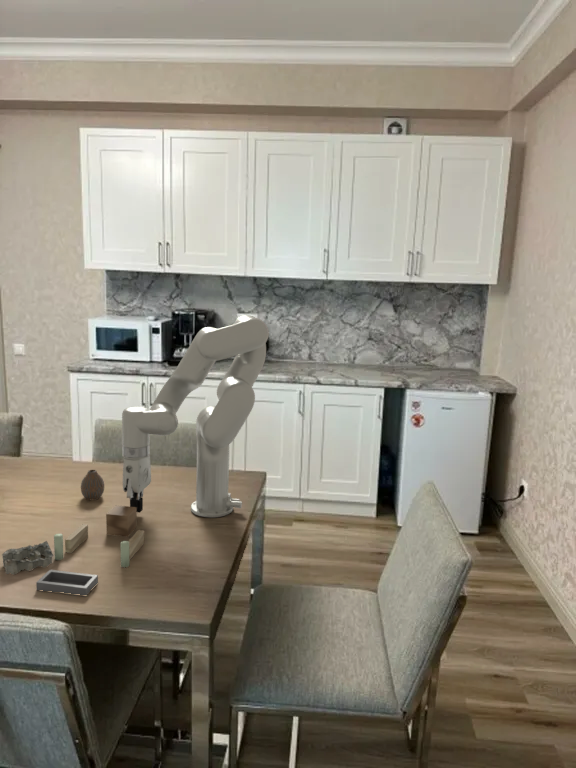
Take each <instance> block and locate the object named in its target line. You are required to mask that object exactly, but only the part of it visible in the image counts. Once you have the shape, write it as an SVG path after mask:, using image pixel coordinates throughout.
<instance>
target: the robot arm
mask: <svg viewBox="0 0 576 768" xmlns="http://www.w3.org/2000/svg"><path fill="white" fill-rule="evenodd" d="M269 332H270V331H269V328H268V325H267V324H266V323H265V322H264V321H263V320H261V319H260V318H258V317H255V316H253V315H250V314H249V315H248V314H244V315H241V316H239V317H237V318H236V320H235V321H234V323H233V324H231V325H228V326H227V325H226V326H224V327H220V328H215V327H213V326H207V327H206V326H205V327H202V328H201V329H199V331H198V332H197V333H196V335H195V336H194V338H193V340H192V342H191V343H190V345H189V346H188V348H187V350H186V352H185V353H184V354H183V357H182V358H181V360H180V362H179V363H178V365H177V367H176V368H175V369H174V371H173V372H172V374H171V375H170V377H169V378H168V379H167V380H166V382H165V384H164V385H163V386H162V387H161V390H160V391H159V392H158V393H157V394H158V395H157V396H156V398H155V400H154V402H153V403H152V404H151V407H150V409H148V408H147V407H143V406H131V407H130V406H129V407H126V408H125V409H123V411H122V413H121V431H122V433H121V438H122V439H121V440H122V442H121V443H122V445H121V447H122V449H121V451H122V453H121V454H122V457H123V464H122V465H123V467H122V490H123V491H124V492H125V493H126V499H129V507H137V514H138V513H141V512H142V511H143V507H144V504H143V503H144V501H143V500H144V498H143V497H144V490H145V489H146V488H147V487H148V486H149V485H150V484H151V482H152V472H151V471H152V470H151V469H152V468H151V457H150V455H151V454H150V451H151V450H150V449H151V447H150V445H151V444H150V443H151V442H150V436H151V435H152V436H155V435H156V436H164V437H165V436H169V435H171V434H173V433H175V432H176V430H177V429H178V427H179V426H178V425H179V420H178V416H177V412H178V411H179V409H180V407H181V406H182V404H183V403H184V401H185V400H186V399H187V397H188V396H189V395H190V394H191V393H192V392H193V391H195V390H197V389H198V388H199V387H201V386H202V385H203V383H204V381H206V379H207V377H208V375H209V373H210V371H211V370H212V368H213V366H214V365H215V363H216V362H217V361H222V360H226V359H229V358H233V357H234V359H233V361H232V363H230V366H229V368H228V369H227V371H226V373H225V374H224V376H223V378H222V379H221V381H220V382H219V384H218V386H217V389H216V396H217V399H218V401H217V403H216V405H209V406H206V407H205V408H203V409H202V410H201V411H200V412H199V413H198V415H197V417H196V421H195V422H196V423H195V434H196V487H195V488H196V489H195V490H196V491H195V493H196V494H195V496H196V497H195V498H196V499H195V501H193V502H192V503H191V505H190V511H191V512H192V513H193V514H194V515H196V516H199V517H203V518H220V517H224V516H228V515H229V514H230V513H232V512H233V510H234V508H236V509H237V508H238V509H242V507H243V501H241V499H240V498H233V497H231V494H232V493H231V492H229V481H230V480H229V477H230V476H229V475H230V474H229V473H230V471H229V470H230V444H231V443H232V442H233V441H234V440H235V439H236V437H237V436H238V434H239V433H240V431H241V429H242V427H243V426H244V424H245V423H246V421H247V419H248V417H249V415H250V414H251V412H252V411H253V408H254V405H255V402H256V394H255V391H254V389H253V387H254V384H255V382H256V381H257V379H258V378H259V375H260V373H261V371H262V369H263V367H264V364H265V361H266V355H267V344H266V343H267V341H268V339H269V336H270V335H269Z"/></svg>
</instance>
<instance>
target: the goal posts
mask: <svg viewBox="0 0 576 768" xmlns="http://www.w3.org/2000/svg"><path fill="white" fill-rule="evenodd" d="M63 537H64V536H63V533H55V534H53V549H54V551H53V552H54V560H56V561H61V560H63V559H64V538H63ZM128 566H129V567H130V560H129V540H121V542H120V567H121V568H122V567H124V568H123V569H125V567H127V568H128Z"/></svg>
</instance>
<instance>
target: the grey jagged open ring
mask: <svg viewBox="0 0 576 768" xmlns="http://www.w3.org/2000/svg"><path fill="white" fill-rule="evenodd" d="M41 555H42V556H44V558H42V556H41ZM1 556H2V565H3V566H2V567H3V568H5V574H9V573H11V574H9V575H12V574H13V575H17V573H19V572H21V570H22V571H28V572H30V571H33V570H34V569H36V568H38V567H37V566H39V567H41V566H42V567H41V568H47V566H48V567H49V565H50V564H53V557H54V554H53V551H52V549H51V547H50V544H49V543H48V541H47V540H46V541H44V542H42V543H39V544H34V545H30V544H29V545H28V546H23V547H20V548H9V549H7V550H6V551H4V552H3V553H2V554H1ZM24 558H25V559H24ZM28 558H29V559H28ZM33 568H34V569H33ZM24 569H26V570H24ZM32 569H33V570H32ZM29 570H30V571H29Z"/></svg>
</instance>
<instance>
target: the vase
mask: <svg viewBox="0 0 576 768" xmlns="http://www.w3.org/2000/svg"><path fill="white" fill-rule="evenodd" d="M80 492H81V494H82V496H83V497H84V499H86V500H88V501H95V500H98V499H100V498H101V497H102V496H103V494H104V492H105V481H104V479H103V477H102V476H101V475H100V474H99V473H98V471H97V470H96V469H90V470H88V471H87V473H86V475H85V476H84V477H83V478H82V481H81V483H80Z"/></svg>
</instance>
